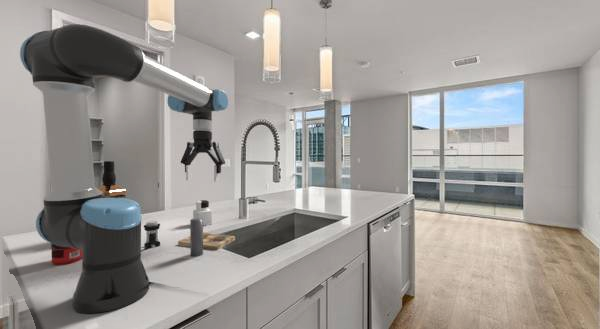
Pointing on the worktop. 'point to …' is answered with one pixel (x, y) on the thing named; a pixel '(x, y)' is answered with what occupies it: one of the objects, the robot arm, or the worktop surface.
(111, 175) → the whiskey bottle
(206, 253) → the deck pad
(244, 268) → the worktop surface
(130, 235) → the robot arm
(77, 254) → the canned food
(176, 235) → the worktop surface
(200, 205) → the medicine bottle
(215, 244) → the socket board
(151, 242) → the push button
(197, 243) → the dark grey cylinder
